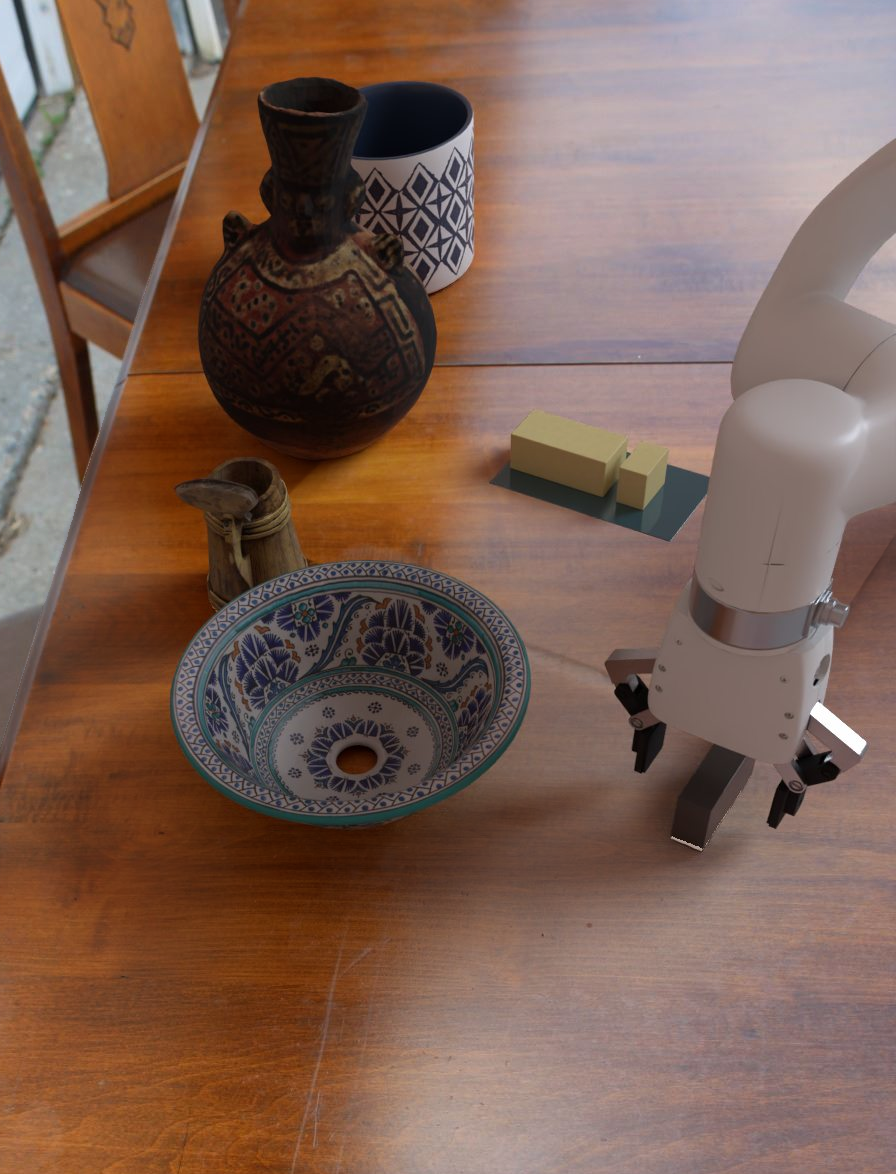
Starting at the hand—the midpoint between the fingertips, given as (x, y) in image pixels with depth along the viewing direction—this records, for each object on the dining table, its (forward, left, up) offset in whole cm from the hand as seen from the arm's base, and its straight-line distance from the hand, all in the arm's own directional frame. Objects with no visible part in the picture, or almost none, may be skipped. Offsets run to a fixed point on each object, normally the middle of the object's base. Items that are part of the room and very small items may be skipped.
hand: (712, 786), depth 91 cm
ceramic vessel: (-5, -54, -3) cm, 54 cm away
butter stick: (-17, -34, -2) cm, 38 cm away
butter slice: (-20, -28, -2) cm, 34 cm away
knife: (-5, -2, -3) cm, 6 cm away
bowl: (+17, -19, -3) cm, 25 cm away
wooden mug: (+13, -39, -3) cm, 41 cm away
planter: (-28, -73, -3) cm, 78 cm away
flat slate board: (-18, -31, -3) cm, 36 cm away
